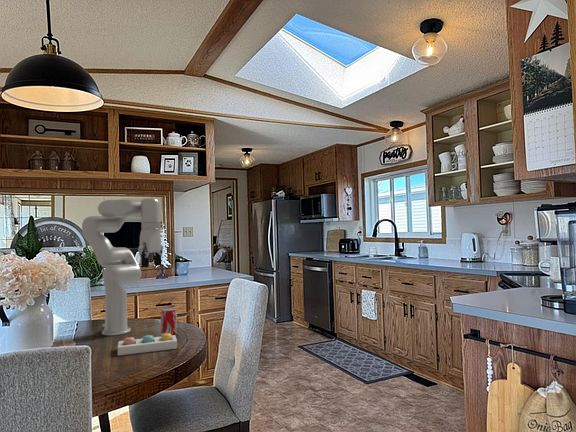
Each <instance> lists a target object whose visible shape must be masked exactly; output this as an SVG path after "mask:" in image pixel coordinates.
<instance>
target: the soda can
mask: <svg viewBox="0 0 576 432" xmlns="http://www.w3.org/2000/svg"><path fill="white" fill-rule="evenodd" d="M165 333H170V334H171V335H175V336H176V335H177V334H178V313H177V310H176V308H174V307H166V308H162V309H161V313H160V335H161V334H165Z"/></svg>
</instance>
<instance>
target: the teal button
mask: <svg viewBox="0 0 576 432" xmlns="http://www.w3.org/2000/svg"><path fill="white" fill-rule="evenodd" d="M153 337H154V335H152V334H147V335H142V339H143V343H148V342H153Z"/></svg>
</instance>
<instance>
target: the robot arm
mask: <svg viewBox="0 0 576 432" xmlns="http://www.w3.org/2000/svg"><path fill="white" fill-rule="evenodd" d="M97 211H98V213H99V215H91V216H87V217H86V218H85V219H83V221H82V223H81V229H82V235H83V238H85V241H86V242H87V243H88V245H89V246H90V247H91V248H92V250H93V253H94V255H95V258H96V259H97V261H98V263H99V265H100V266H101V267H102V268H105V269H103V272H102V281H103V286H104V295H105V297H104V301H105V302H104V307H105V308H104V309H105V311H104V315H105V317H104V319H105V321H104V323H102V324H101V327H102V328H104V329H103V330H101V335H103V336H119V335H124V334H127V333H130V332H131V330H132V328H131V327H128V293H127V290H126V289H125V287H124V286H123V285H128V284H129V285H130V284H136V283H138V282H139V281H141V279H142V269H141V268H149V267H150V262H149V261H150V259H149V255H150V254H153V255H154V256H153V259H154V260H153V261H154V264H153V265H154V266H155V267H156V266H157V267H159V266H162V265H163V264H162V256H163V250H164V246H163V245H162V238H161V232H160V226H161V225H160V202H159V199H157V198H144V199H142V200H141V199H128V198H127V199H123V198H122V199H105V200H103V201H101V202H100V203H99V204H98V206H97ZM129 217H131V218H132V217H134V218H135V217H137V218H140V221H141V223H140V224H141V227H140V229H141V230H140V234H139V246H138V247H137V250H138V254H139V255H140V256H139V257H140V260H141V262H140V263H141V267H140V264H139V263H138V262H137V260H136V258H135V254H134V253H133V251H131V249H129V248H128V247H122V246H121V247H115V246H113V245H112V243H111V241H110V240H109V239H108V237H106V236H105V235H103V234H104V233H107V234H109V233H113V234H114V233H116V232H118V231H120V230H121V228H122V226H123V225H124V223H125V222H126V221H127V219H128V218H129Z"/></svg>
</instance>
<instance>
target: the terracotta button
mask: <svg viewBox="0 0 576 432" xmlns="http://www.w3.org/2000/svg"><path fill="white" fill-rule="evenodd" d="M123 341H124V345H130V344H135V337H134V336H129V337H128V336H127V337H124V338H123Z"/></svg>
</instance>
